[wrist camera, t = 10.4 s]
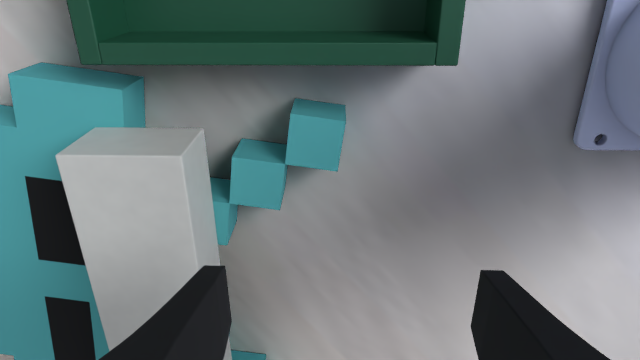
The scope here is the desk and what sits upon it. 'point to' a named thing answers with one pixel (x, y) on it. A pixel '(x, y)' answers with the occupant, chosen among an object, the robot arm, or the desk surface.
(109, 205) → the white block
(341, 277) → the desk surface
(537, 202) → the desk surface
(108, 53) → the green tray
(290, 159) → the alien figure
